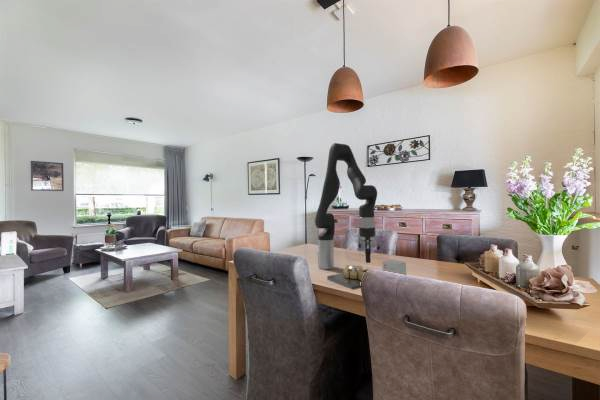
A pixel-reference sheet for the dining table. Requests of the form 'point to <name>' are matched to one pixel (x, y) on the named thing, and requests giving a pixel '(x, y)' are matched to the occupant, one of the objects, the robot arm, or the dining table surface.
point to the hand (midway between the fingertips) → (368, 262)
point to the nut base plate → (345, 279)
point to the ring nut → (354, 272)
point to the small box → (394, 266)
